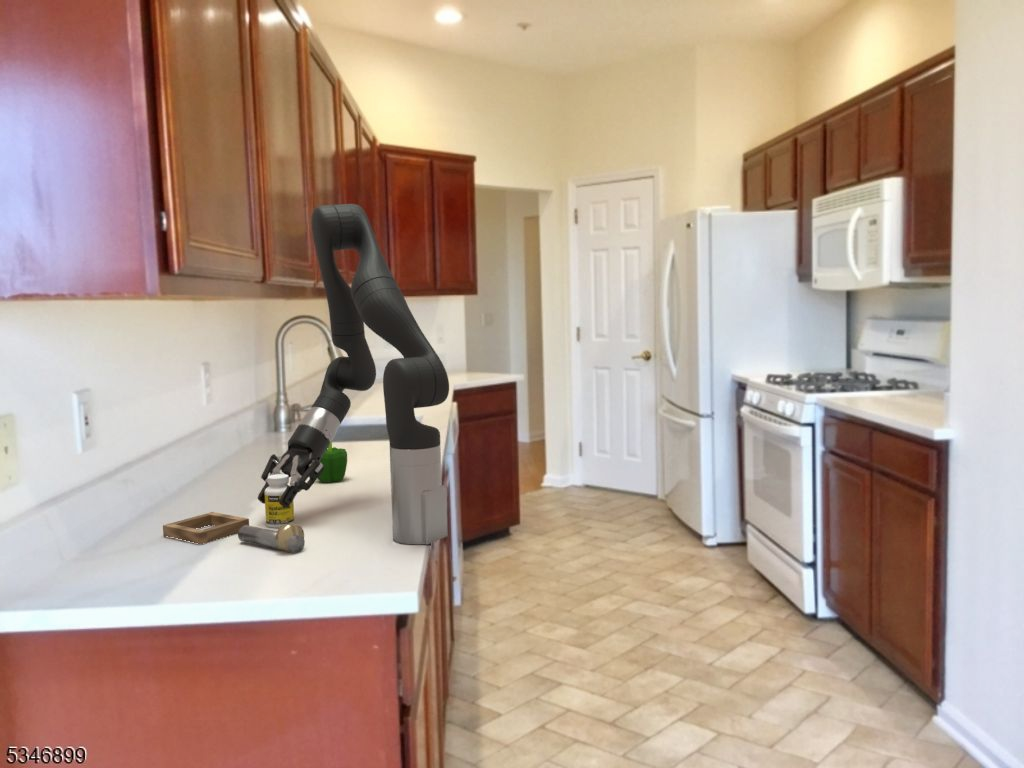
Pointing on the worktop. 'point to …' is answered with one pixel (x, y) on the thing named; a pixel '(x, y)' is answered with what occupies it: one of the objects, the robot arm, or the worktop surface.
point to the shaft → (275, 537)
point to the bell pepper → (333, 464)
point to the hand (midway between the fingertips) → (272, 503)
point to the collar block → (222, 528)
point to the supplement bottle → (277, 502)
